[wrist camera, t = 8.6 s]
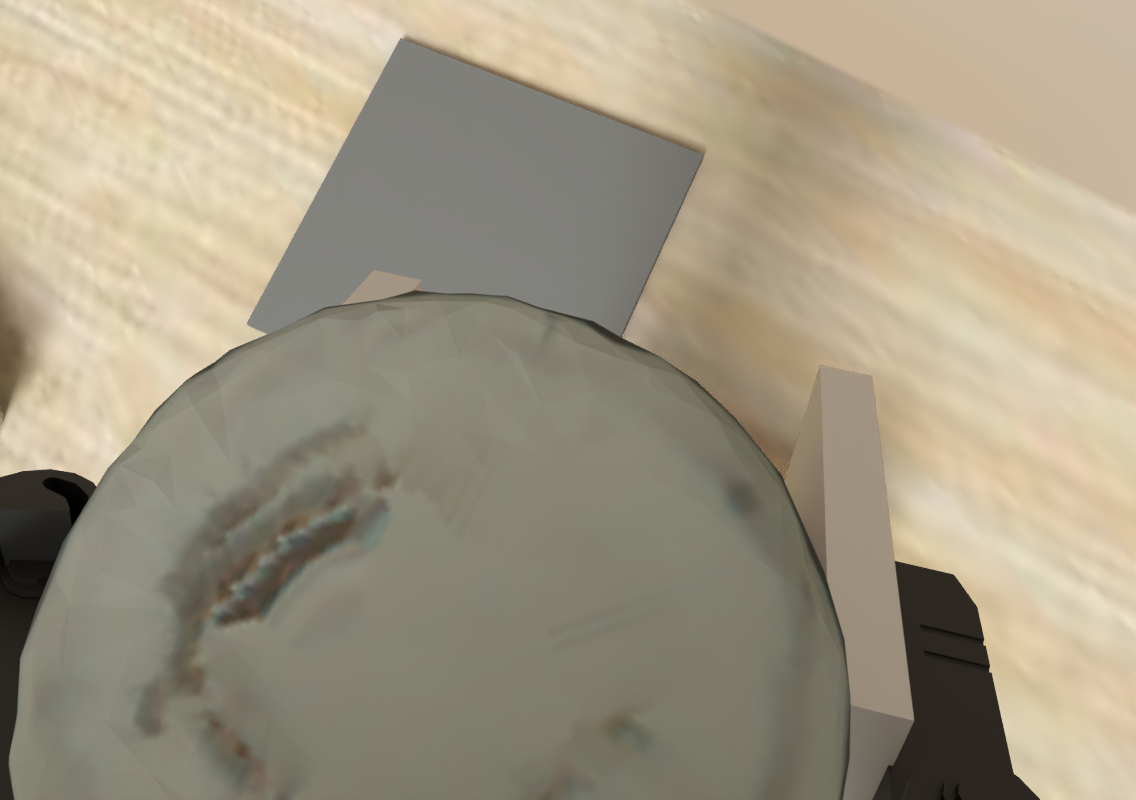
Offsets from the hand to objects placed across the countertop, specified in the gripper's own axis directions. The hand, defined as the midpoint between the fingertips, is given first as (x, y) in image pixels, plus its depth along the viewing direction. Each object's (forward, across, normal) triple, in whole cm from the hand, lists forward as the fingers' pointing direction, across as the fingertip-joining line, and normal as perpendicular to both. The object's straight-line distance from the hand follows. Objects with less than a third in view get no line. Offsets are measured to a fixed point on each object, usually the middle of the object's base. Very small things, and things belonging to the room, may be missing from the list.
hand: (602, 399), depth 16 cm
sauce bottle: (+4, 0, -9) cm, 10 cm away
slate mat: (+24, -8, -9) cm, 27 cm away
